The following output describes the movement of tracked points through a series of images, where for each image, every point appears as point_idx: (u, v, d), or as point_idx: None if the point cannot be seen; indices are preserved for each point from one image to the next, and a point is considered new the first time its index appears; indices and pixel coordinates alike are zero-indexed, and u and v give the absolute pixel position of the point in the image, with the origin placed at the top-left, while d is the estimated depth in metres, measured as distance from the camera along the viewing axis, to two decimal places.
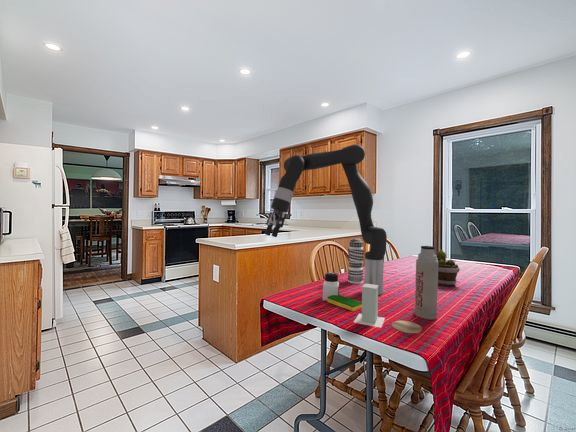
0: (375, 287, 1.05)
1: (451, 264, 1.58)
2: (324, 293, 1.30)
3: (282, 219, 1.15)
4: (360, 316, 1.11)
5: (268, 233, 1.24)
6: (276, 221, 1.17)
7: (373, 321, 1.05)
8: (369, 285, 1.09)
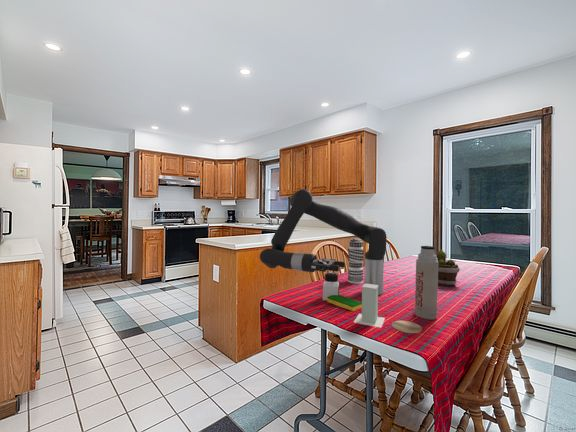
0: (375, 287, 1.05)
1: (451, 264, 1.58)
2: (324, 293, 1.31)
3: (317, 267, 1.09)
4: (360, 316, 1.11)
5: (342, 264, 1.16)
6: (323, 269, 1.11)
7: (373, 321, 1.05)
8: (369, 285, 1.09)
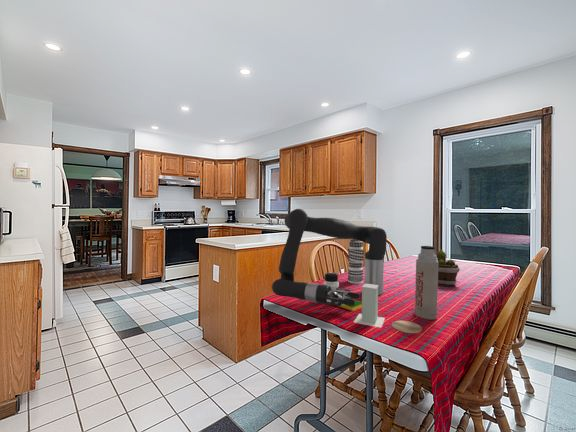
0: (375, 287, 1.05)
1: (451, 264, 1.58)
2: None
3: (332, 301, 1.07)
4: (360, 316, 1.11)
5: (357, 295, 1.14)
6: None
7: (373, 321, 1.05)
8: (369, 285, 1.09)
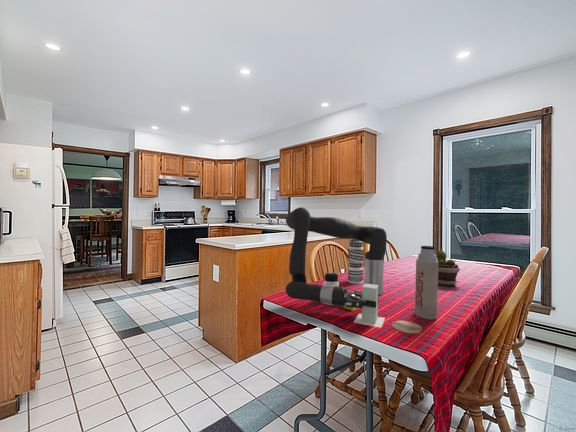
0: (375, 287, 1.05)
1: (451, 264, 1.58)
2: None
3: (353, 303, 1.04)
4: (360, 316, 1.11)
5: None
6: (358, 304, 1.07)
7: (373, 321, 1.05)
8: (369, 285, 1.09)
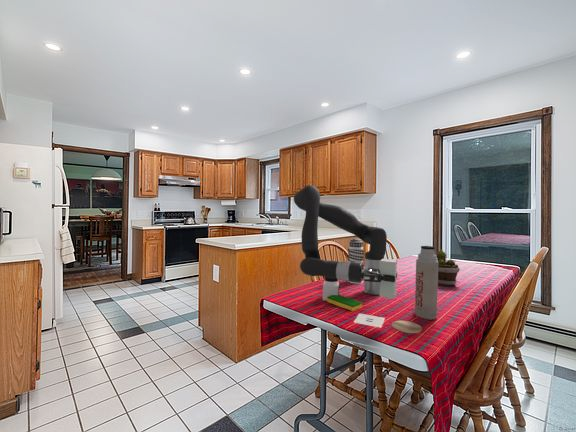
0: (394, 261, 1.02)
1: (451, 264, 1.58)
2: (324, 293, 1.31)
3: (372, 277, 1.01)
4: (360, 316, 1.11)
5: None
6: (376, 279, 1.03)
7: (392, 296, 1.02)
8: (387, 259, 1.05)
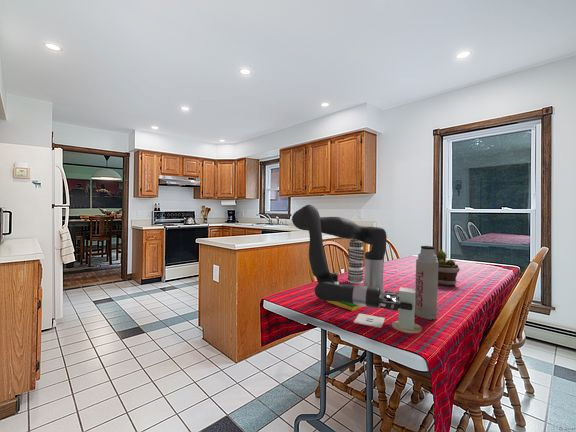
0: (413, 291, 1.00)
1: (451, 264, 1.58)
2: None
3: (388, 305, 0.98)
4: (360, 316, 1.11)
5: None
6: (393, 306, 1.00)
7: (411, 327, 0.99)
8: (406, 289, 1.03)
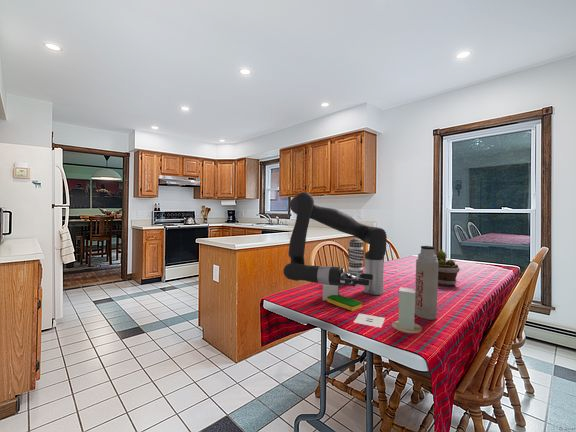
0: (413, 291, 1.00)
1: (451, 264, 1.58)
2: (324, 293, 1.31)
3: (347, 281, 1.06)
4: (360, 316, 1.11)
5: (370, 276, 1.13)
6: (352, 283, 1.08)
7: (411, 327, 0.99)
8: (406, 289, 1.03)
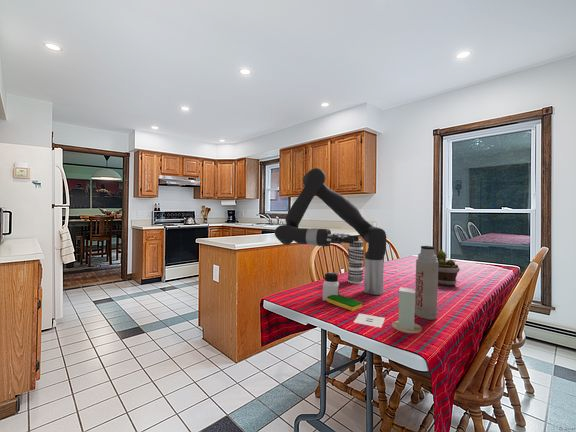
0: (413, 291, 1.00)
1: (451, 264, 1.58)
2: (324, 293, 1.31)
3: (332, 239, 1.13)
4: (360, 316, 1.11)
5: (356, 238, 1.19)
6: (338, 241, 1.15)
7: (411, 327, 0.99)
8: (406, 289, 1.03)
